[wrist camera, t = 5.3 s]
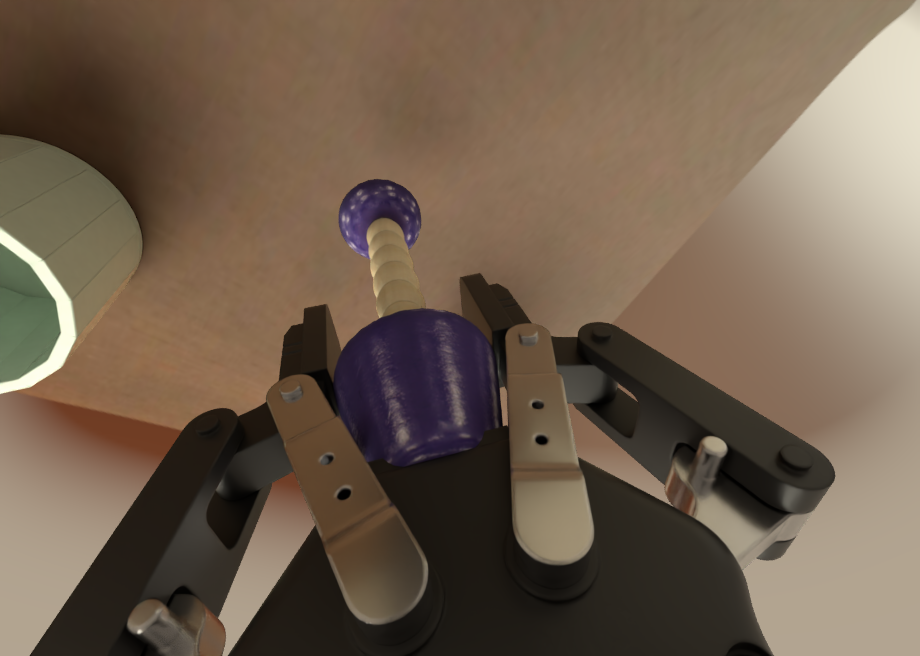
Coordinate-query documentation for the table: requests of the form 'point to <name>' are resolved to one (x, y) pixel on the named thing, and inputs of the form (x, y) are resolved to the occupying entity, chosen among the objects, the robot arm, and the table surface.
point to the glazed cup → (56, 256)
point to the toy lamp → (409, 347)
